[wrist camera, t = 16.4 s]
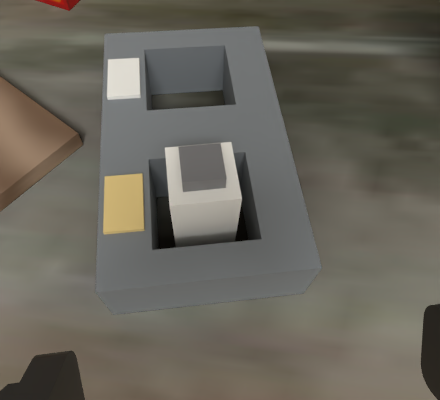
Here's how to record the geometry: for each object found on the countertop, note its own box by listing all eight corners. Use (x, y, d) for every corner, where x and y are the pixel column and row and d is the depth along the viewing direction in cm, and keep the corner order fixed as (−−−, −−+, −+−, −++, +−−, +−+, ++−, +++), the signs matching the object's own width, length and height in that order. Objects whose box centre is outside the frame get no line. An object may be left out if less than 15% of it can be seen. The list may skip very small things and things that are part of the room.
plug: (173, 211, 30) (163, 136, 23) (225, 206, 31) (232, 131, 23) (178, 260, 28) (168, 196, 21) (232, 254, 29) (243, 189, 21)
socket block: (116, 79, 37) (103, 30, 32) (252, 71, 38) (258, 23, 34) (113, 314, 26) (93, 290, 22) (303, 293, 27) (323, 266, 23)
